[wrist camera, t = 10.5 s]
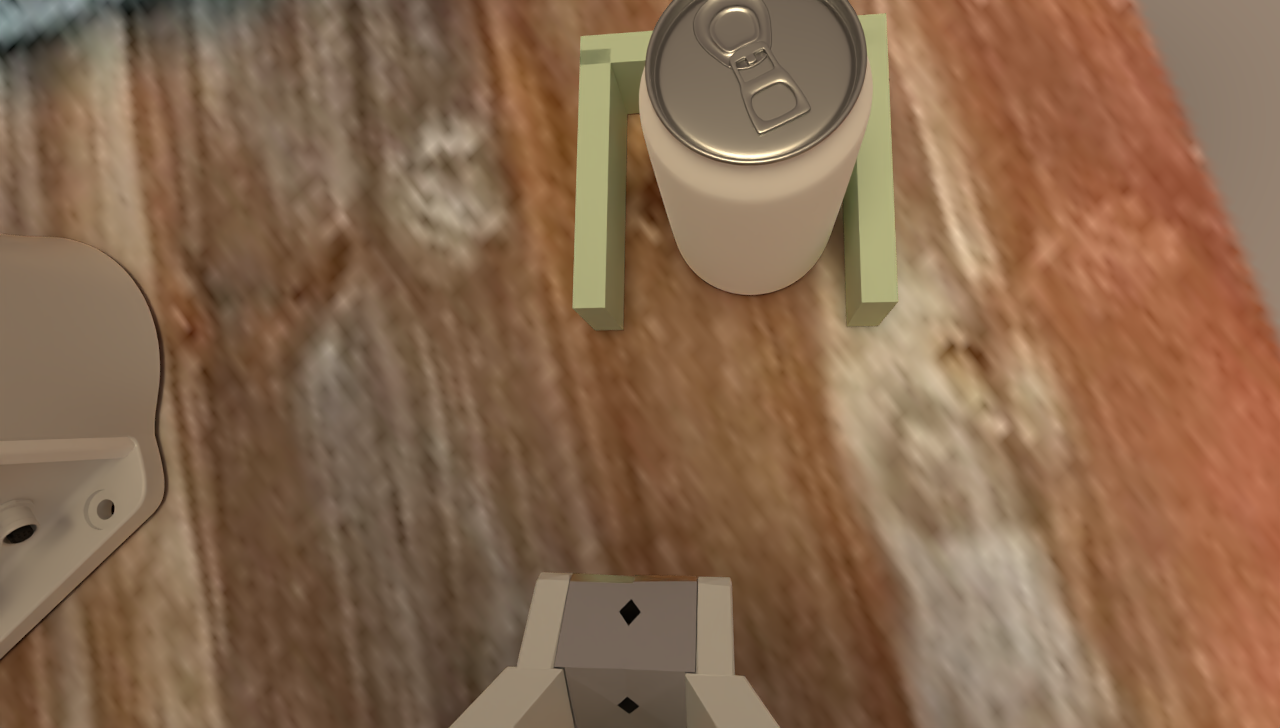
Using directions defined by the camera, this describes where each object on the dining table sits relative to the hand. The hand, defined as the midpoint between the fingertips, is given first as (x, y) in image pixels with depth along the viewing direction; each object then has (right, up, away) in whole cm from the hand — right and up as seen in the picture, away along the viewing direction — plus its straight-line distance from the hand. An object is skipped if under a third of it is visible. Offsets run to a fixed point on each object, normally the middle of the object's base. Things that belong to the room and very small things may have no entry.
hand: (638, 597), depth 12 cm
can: (+5, +10, +19) cm, 22 cm away
